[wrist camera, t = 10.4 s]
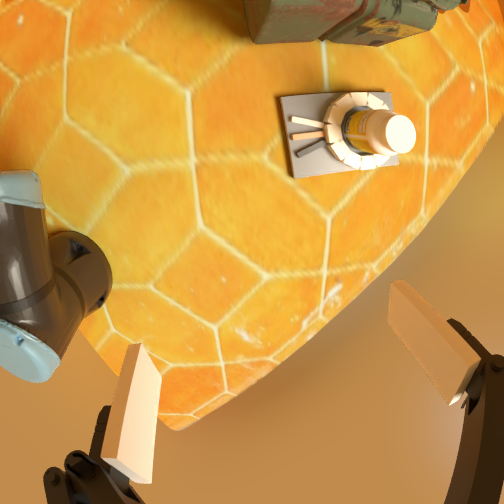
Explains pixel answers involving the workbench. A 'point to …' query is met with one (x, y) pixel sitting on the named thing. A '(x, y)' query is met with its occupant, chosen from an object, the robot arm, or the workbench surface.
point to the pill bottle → (379, 132)
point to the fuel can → (341, 20)
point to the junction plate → (317, 113)
